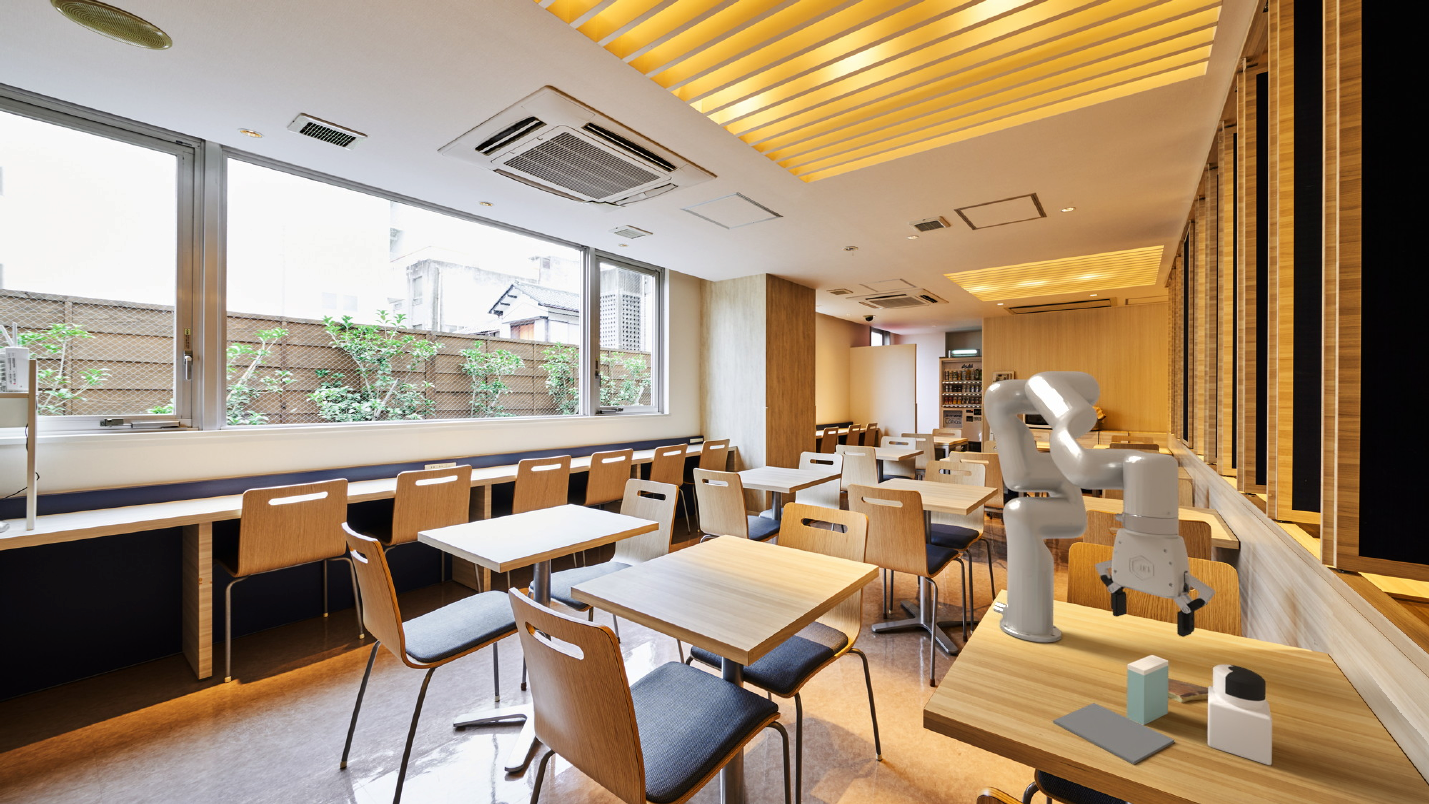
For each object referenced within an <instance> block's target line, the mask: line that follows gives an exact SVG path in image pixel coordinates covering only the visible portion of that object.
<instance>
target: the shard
mask: <svg viewBox="0 0 1429 804" xmlns="http://www.w3.org/2000/svg"><path fill="white" fill-rule="evenodd" d="M1168 699H1172V700H1174V701H1176V702H1179V703H1182V704H1183V703H1186V702H1188V701H1196V700H1197V701H1198V700H1199V701H1201V700H1208V686H1207V687H1206V686H1202V685H1198V684H1195V683H1191V682H1186V681H1182V680H1179V679H1173V678H1169V677H1168Z"/></svg>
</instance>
